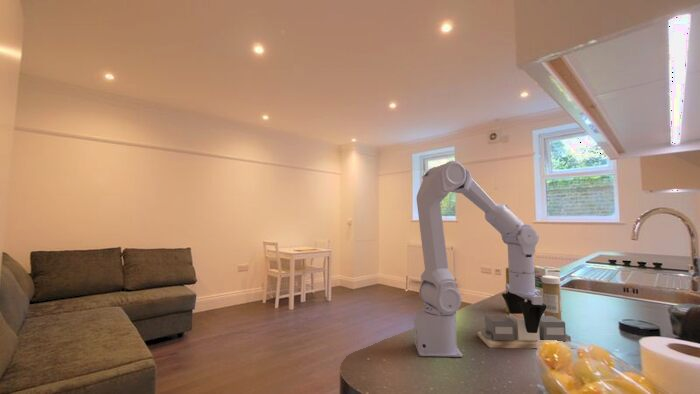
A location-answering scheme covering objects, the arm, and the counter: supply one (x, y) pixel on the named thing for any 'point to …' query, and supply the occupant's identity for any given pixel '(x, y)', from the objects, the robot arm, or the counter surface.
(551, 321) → the board
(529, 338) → the block
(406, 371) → the counter surface
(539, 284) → the syrup box
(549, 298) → the sprinkles bottle
